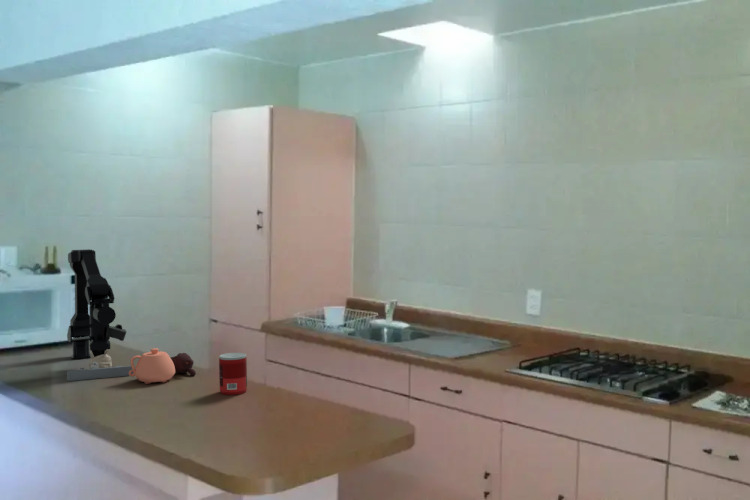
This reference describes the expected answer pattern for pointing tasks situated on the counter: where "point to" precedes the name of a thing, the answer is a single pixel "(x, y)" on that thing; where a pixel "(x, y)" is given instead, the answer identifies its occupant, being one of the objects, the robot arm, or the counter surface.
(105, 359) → the garlic bulb
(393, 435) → the counter surface
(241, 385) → the canned food
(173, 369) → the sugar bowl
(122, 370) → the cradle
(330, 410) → the counter surface
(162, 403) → the counter surface
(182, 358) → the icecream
